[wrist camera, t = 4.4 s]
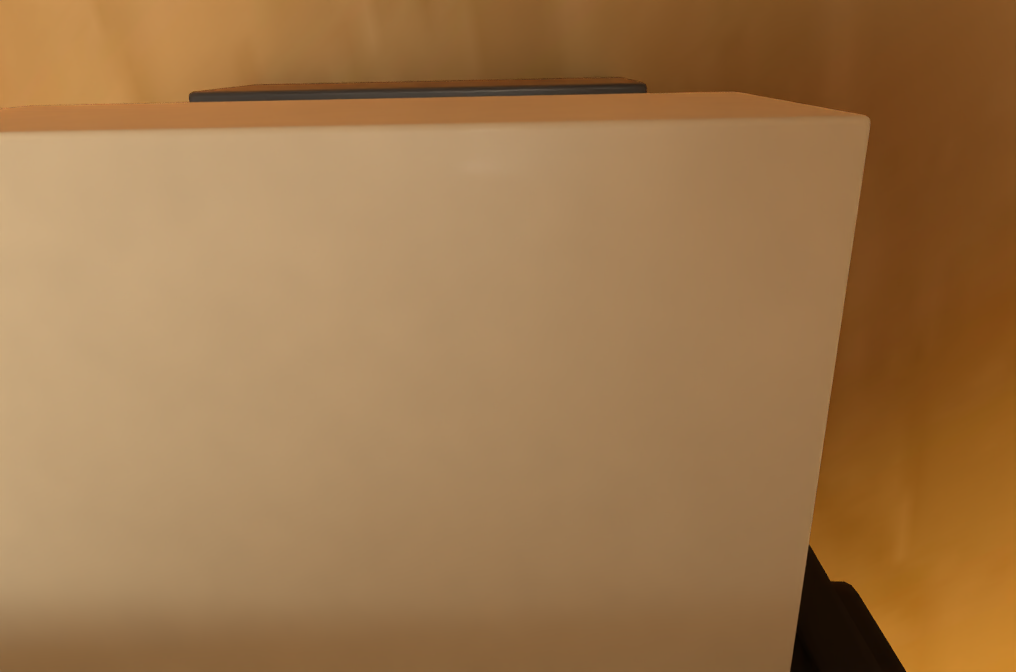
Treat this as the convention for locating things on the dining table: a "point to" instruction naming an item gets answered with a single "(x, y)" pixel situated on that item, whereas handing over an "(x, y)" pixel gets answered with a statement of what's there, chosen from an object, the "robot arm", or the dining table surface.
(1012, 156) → the dining table surface
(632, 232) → the cream rectangular block
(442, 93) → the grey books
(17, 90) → the dining table surface
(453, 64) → the dining table surface
